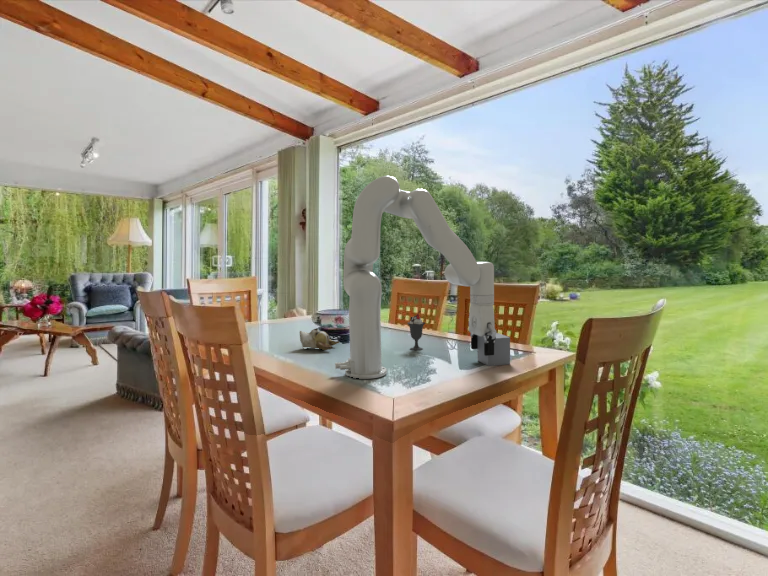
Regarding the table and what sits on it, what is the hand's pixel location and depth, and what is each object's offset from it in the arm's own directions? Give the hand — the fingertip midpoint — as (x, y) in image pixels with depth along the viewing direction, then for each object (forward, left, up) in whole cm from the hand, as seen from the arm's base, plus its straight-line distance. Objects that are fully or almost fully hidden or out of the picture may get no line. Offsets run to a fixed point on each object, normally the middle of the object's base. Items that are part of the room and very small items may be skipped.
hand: (482, 351), depth 142 cm
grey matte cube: (+4, 0, -4) cm, 6 cm away
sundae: (-14, +27, -4) cm, 31 cm away
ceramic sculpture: (-50, +39, -4) cm, 64 cm away
